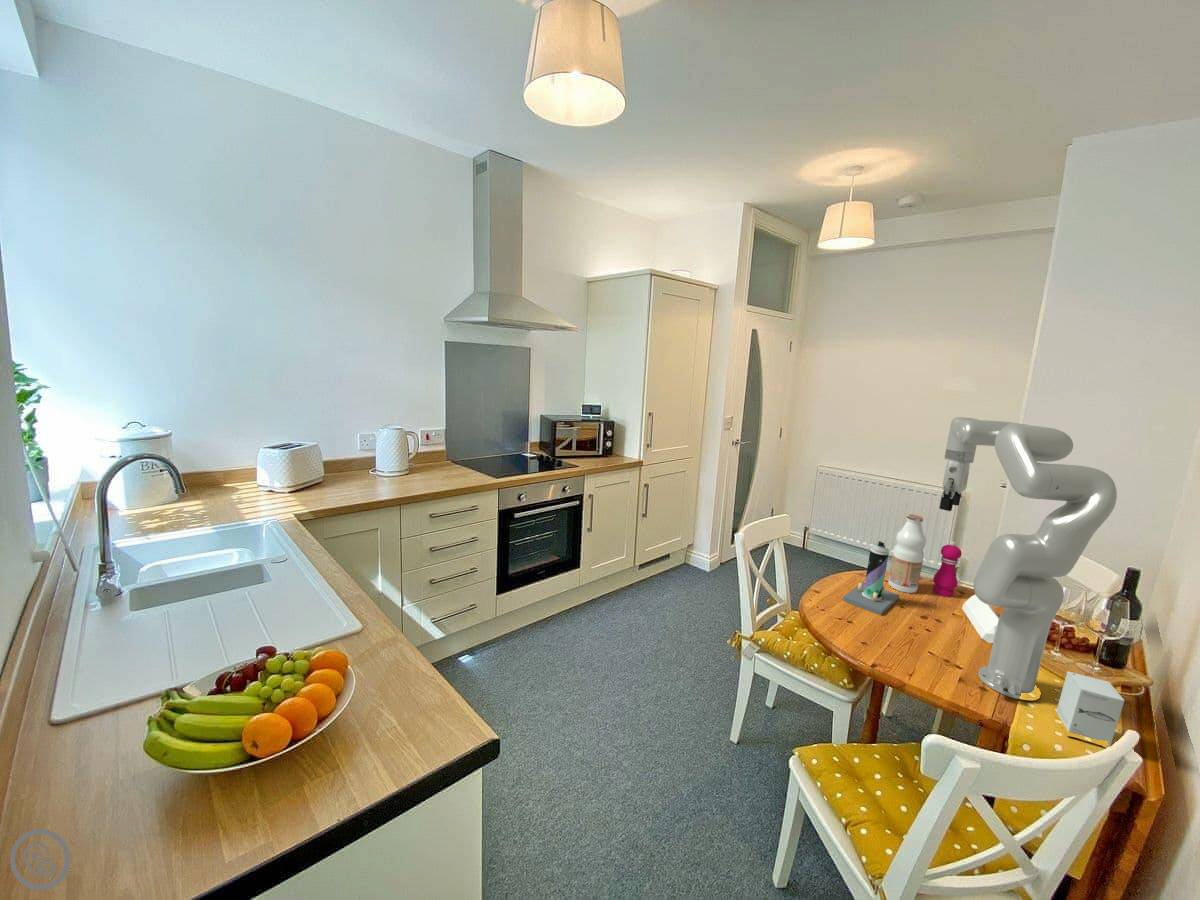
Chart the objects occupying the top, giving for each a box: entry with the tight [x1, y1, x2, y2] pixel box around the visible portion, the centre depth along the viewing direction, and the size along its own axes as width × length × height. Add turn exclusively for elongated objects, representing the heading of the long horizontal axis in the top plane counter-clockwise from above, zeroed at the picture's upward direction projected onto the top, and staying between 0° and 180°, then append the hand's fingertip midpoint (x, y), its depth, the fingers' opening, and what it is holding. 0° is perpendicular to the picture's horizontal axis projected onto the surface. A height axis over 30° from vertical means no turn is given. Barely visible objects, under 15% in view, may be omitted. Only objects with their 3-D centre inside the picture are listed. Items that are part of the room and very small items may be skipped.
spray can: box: [863, 540, 890, 600], centre depth 163 cm, size 6×6×20 cm
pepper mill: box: [932, 541, 962, 598], centre depth 172 cm, size 7×7×20 cm
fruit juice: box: [887, 513, 927, 594], centre depth 173 cm, size 9×9×28 cm
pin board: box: [842, 581, 900, 616], centre depth 165 cm, size 18×12×4 cm, turn 132°
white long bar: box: [962, 593, 1000, 644], centre depth 151 cm, size 7×7×24 cm
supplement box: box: [1055, 670, 1125, 749], centre depth 107 cm, size 7×7×13 cm
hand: (949, 507), depth 155 cm, fingers open, 9 cm apart
